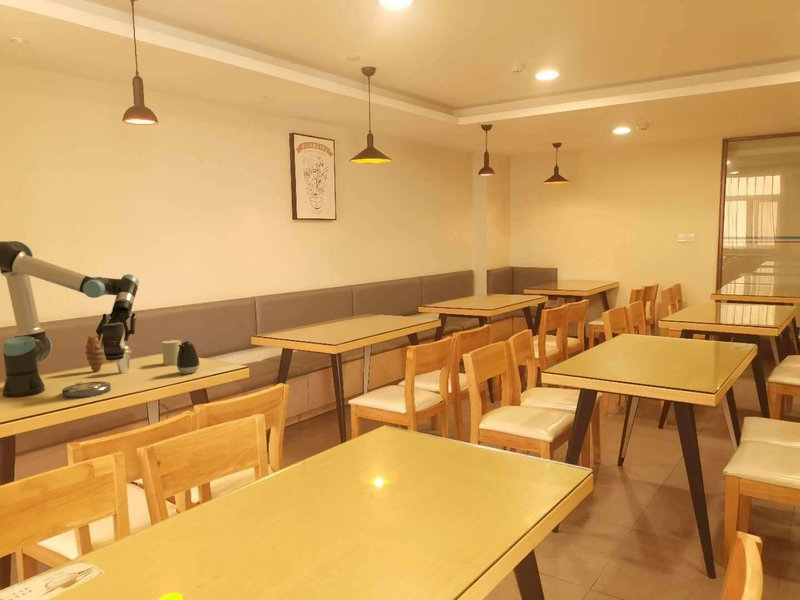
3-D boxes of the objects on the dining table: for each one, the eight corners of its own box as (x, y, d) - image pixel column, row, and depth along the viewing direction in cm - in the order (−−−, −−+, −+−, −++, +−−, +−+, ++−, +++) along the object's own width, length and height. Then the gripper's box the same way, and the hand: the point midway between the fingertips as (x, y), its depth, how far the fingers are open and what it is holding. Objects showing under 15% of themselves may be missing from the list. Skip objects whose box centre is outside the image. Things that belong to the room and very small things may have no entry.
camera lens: (129, 356, 256) (126, 322, 254) (118, 360, 248) (116, 325, 246) (111, 356, 257) (109, 322, 255) (100, 360, 249) (97, 325, 247)
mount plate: (58, 400, 238) (57, 393, 237) (67, 390, 255) (66, 383, 254) (107, 395, 243) (106, 388, 243) (113, 385, 260) (112, 378, 260)
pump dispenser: (172, 374, 277) (169, 343, 275) (186, 369, 287) (184, 339, 285) (190, 375, 274) (187, 343, 272) (204, 370, 284) (202, 339, 282)
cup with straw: (124, 375, 281) (120, 333, 278) (109, 374, 283) (105, 332, 281) (137, 370, 289) (134, 330, 286) (122, 370, 291) (119, 330, 289)
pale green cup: (178, 360, 310) (177, 338, 308) (185, 363, 303) (183, 340, 301) (160, 363, 304) (159, 340, 303) (166, 366, 297) (165, 342, 296)
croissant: (92, 374, 285) (89, 337, 283) (83, 372, 289) (80, 336, 287) (109, 370, 292) (106, 334, 290) (100, 369, 296) (97, 333, 294)
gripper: (149, 309, 266) (139, 351, 252) (102, 310, 265) (88, 352, 251) (144, 298, 260) (133, 341, 246) (95, 300, 259) (81, 342, 245)
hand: (110, 347), depth 248 cm, fingers closed on camera lens, 8 cm apart
